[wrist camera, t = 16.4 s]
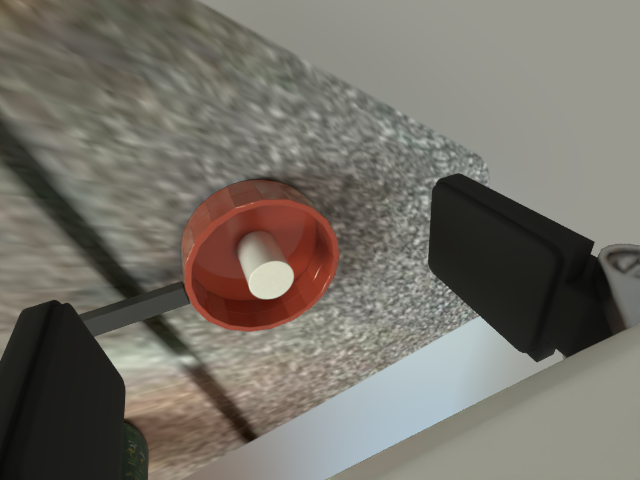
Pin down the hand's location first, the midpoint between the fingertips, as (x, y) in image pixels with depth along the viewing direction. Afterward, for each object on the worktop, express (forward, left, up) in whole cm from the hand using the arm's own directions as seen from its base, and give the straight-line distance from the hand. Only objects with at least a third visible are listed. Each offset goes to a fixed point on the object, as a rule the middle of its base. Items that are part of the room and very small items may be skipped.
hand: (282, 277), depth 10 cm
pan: (+16, +2, -26) cm, 31 cm away
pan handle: (+16, -11, -23) cm, 30 cm away
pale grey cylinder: (+16, +2, -26) cm, 30 cm away
